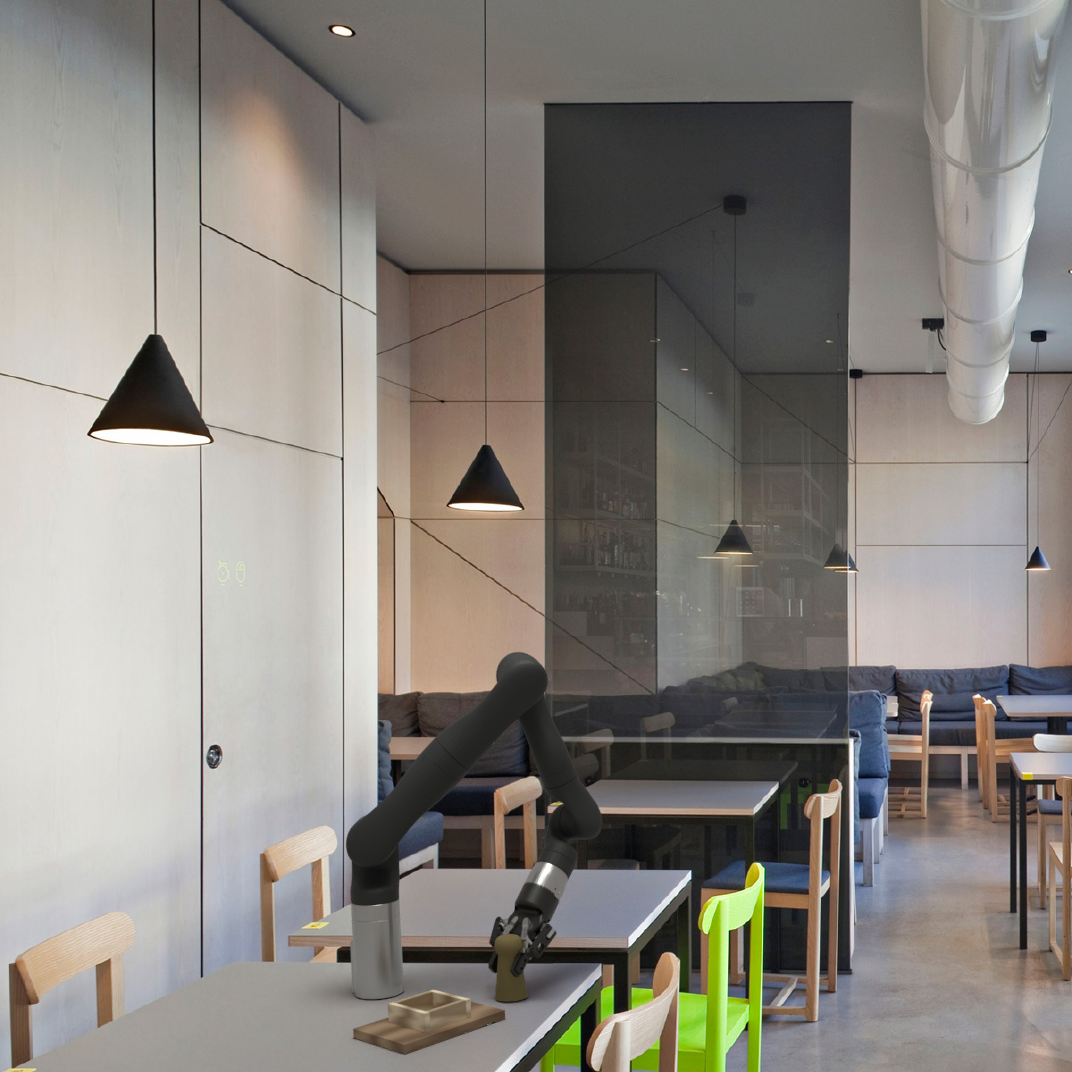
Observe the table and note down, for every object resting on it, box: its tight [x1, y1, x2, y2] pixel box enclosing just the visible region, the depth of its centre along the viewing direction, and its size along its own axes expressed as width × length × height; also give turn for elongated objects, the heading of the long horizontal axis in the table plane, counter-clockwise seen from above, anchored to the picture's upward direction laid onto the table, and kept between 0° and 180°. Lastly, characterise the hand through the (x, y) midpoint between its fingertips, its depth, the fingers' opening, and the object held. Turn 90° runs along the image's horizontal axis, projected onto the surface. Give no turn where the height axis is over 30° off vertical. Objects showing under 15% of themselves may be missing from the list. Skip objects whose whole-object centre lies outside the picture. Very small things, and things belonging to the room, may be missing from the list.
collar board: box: [352, 989, 506, 1055], centre depth 210 cm, size 14×22×4 cm, turn 134°
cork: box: [494, 934, 529, 1002], centre depth 225 cm, size 6×6×11 cm
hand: (503, 972), depth 223 cm, fingers closed on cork, 4 cm apart
